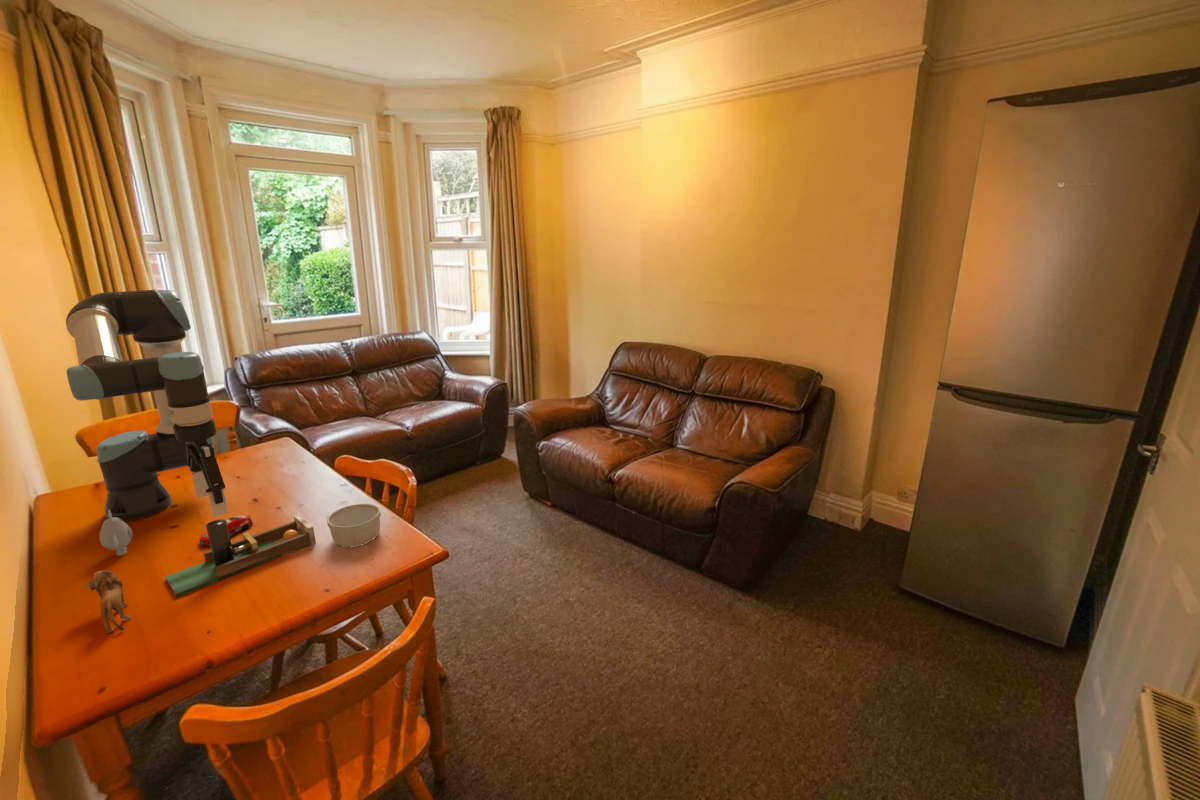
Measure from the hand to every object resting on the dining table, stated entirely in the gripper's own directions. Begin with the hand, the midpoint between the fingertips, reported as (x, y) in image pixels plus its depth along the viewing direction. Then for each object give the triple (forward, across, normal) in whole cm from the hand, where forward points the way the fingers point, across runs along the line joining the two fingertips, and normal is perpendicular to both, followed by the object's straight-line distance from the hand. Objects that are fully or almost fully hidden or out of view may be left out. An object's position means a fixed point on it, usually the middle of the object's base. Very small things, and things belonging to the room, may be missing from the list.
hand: (212, 505), depth 126 cm
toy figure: (+18, -28, -16) cm, 36 cm away
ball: (+15, 0, +15) cm, 21 cm away
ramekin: (+17, +10, +28) cm, 35 cm away
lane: (+17, 0, +4) cm, 18 cm away
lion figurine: (+17, +3, -22) cm, 28 cm away
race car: (+18, -18, +5) cm, 26 cm away
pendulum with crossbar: (+16, 0, +2) cm, 16 cm away
